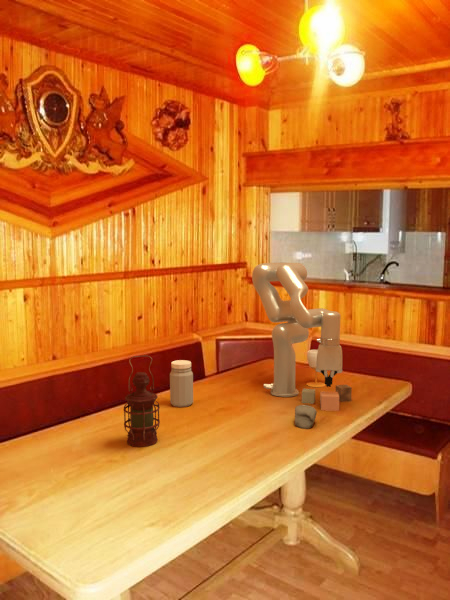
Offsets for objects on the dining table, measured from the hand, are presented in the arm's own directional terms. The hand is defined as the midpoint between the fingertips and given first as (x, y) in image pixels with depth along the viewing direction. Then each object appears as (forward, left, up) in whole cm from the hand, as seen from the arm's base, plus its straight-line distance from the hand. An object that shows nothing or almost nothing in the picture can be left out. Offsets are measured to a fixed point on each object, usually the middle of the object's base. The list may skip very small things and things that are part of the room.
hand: (328, 386), depth 229 cm
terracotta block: (+1, -1, -9) cm, 9 cm away
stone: (-10, -21, -9) cm, 25 cm away
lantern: (-67, -44, -9) cm, 81 cm away
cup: (-3, +36, -9) cm, 37 cm away
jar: (-61, 0, -9) cm, 61 cm away
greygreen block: (-8, +8, -9) cm, 14 cm away
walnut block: (+7, +12, -9) cm, 16 cm away
